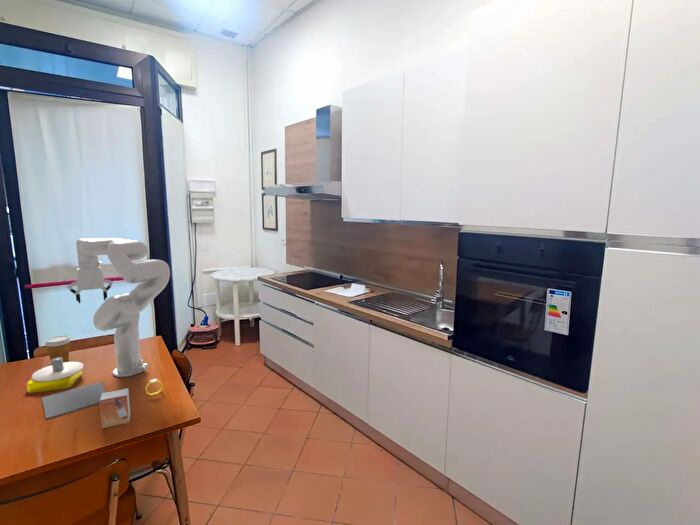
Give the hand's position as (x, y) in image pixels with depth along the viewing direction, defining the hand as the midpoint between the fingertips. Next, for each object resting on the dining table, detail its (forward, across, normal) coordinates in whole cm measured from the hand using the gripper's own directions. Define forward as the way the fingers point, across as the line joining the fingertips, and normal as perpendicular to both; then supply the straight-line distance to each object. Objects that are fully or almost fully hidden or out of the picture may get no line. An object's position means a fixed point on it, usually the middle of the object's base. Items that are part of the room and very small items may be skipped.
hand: (92, 301), depth 166 cm
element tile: (+31, +15, +14) cm, 37 cm away
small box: (+31, -4, +62) cm, 69 cm away
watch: (+31, -18, +49) cm, 60 cm away
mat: (+30, +8, +36) cm, 48 cm away
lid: (+26, +14, +14) cm, 33 cm away
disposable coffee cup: (+31, +15, -9) cm, 35 cm away
